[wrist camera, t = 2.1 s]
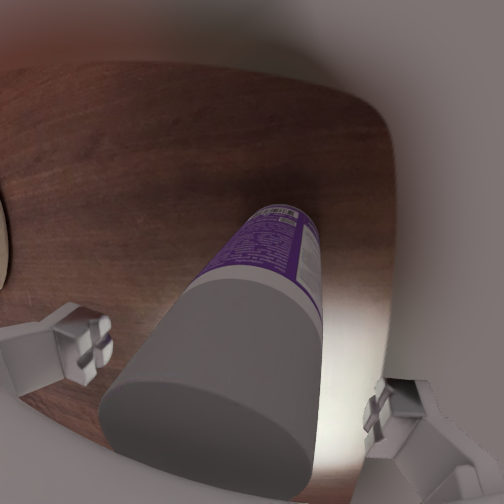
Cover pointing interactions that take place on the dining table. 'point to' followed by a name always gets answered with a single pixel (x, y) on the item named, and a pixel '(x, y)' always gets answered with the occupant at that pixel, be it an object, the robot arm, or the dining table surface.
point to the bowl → (3, 247)
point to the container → (232, 367)
